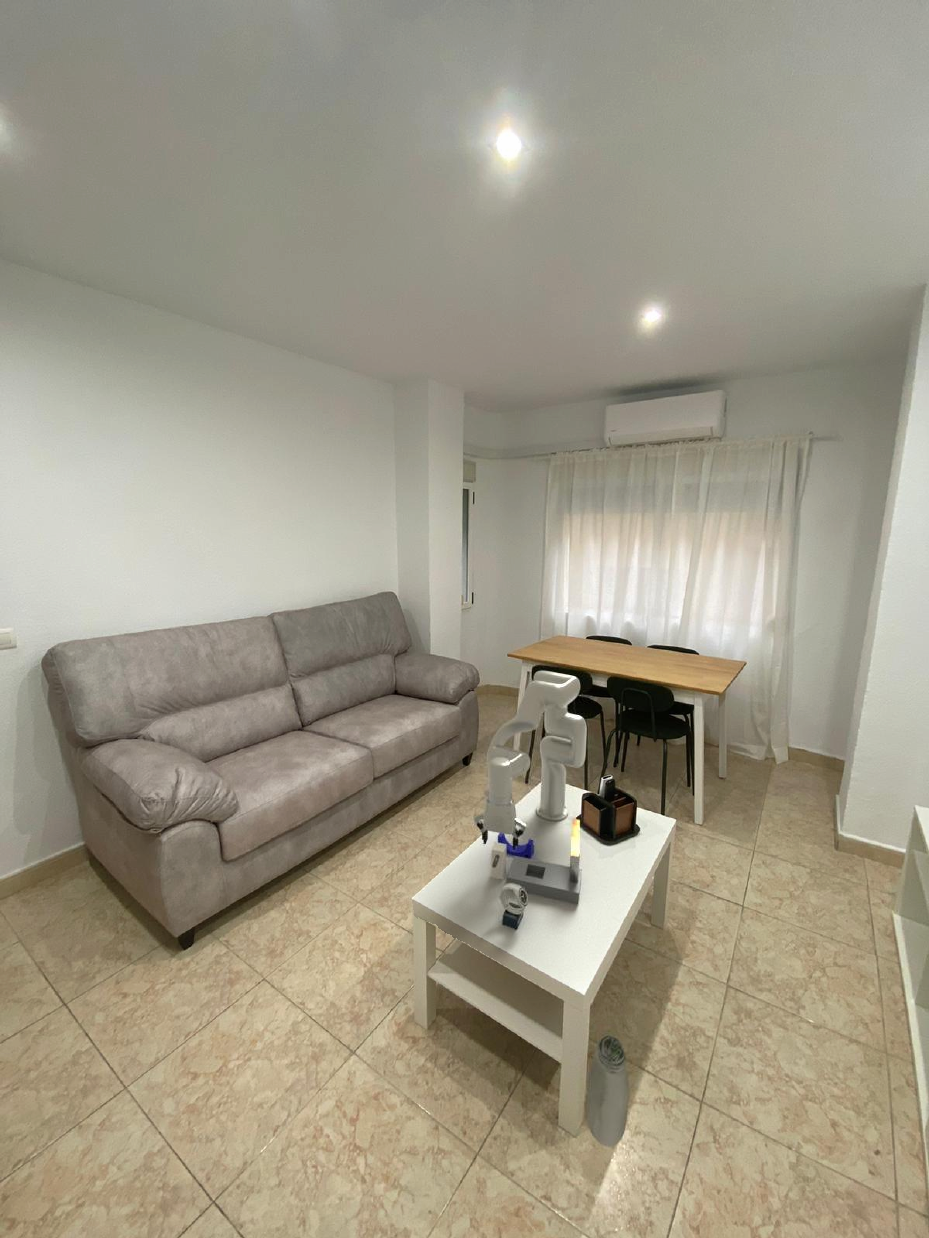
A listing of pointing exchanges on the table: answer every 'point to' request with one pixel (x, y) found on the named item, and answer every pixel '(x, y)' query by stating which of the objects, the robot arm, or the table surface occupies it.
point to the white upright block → (498, 860)
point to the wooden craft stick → (574, 852)
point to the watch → (514, 905)
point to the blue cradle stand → (518, 847)
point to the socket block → (544, 879)
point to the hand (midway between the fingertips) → (500, 844)
